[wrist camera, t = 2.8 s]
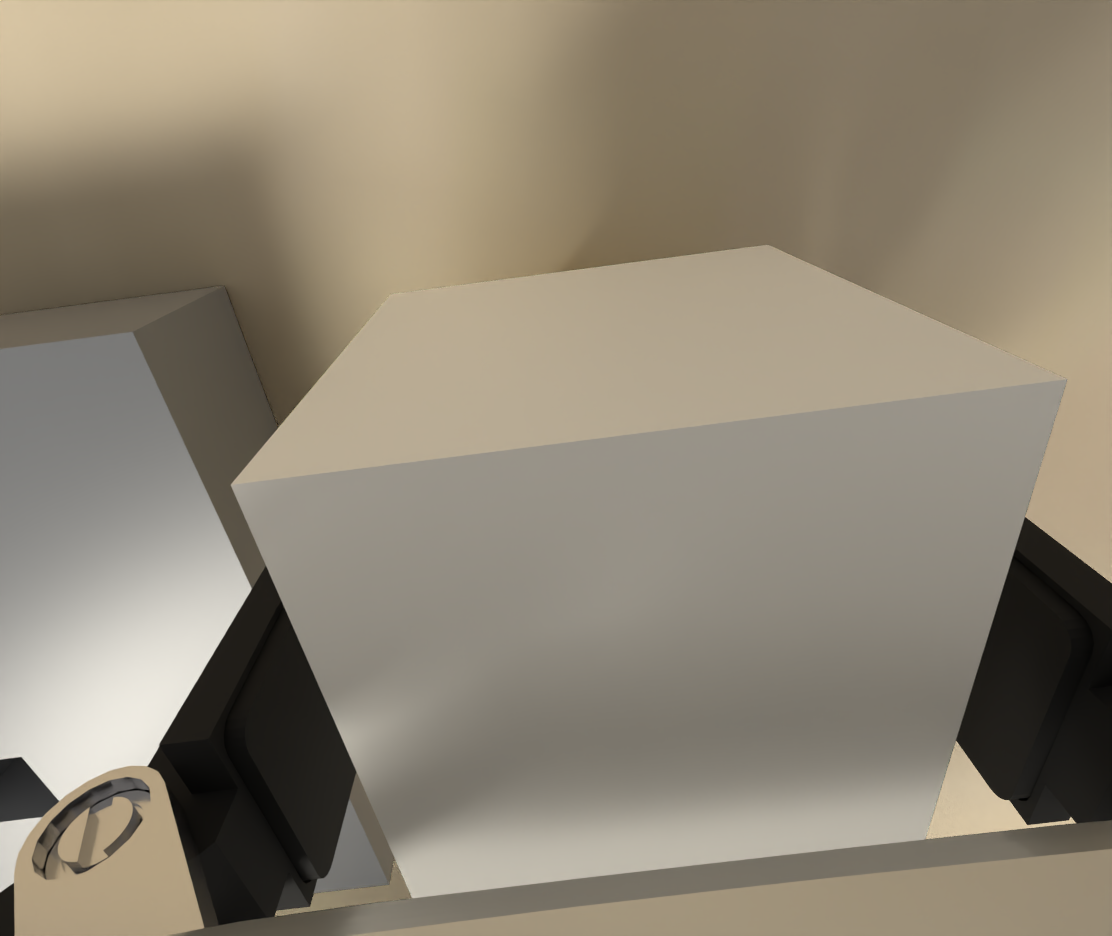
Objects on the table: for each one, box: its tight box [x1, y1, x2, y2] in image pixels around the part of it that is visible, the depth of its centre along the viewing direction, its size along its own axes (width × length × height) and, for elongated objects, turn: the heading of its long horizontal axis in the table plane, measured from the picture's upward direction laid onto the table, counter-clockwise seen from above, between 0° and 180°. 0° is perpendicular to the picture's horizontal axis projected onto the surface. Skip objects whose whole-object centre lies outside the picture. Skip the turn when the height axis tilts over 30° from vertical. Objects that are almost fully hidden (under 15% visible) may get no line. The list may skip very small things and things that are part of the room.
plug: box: [231, 245, 1067, 898], centre depth 10 cm, size 9×6×9 cm, turn 7°
